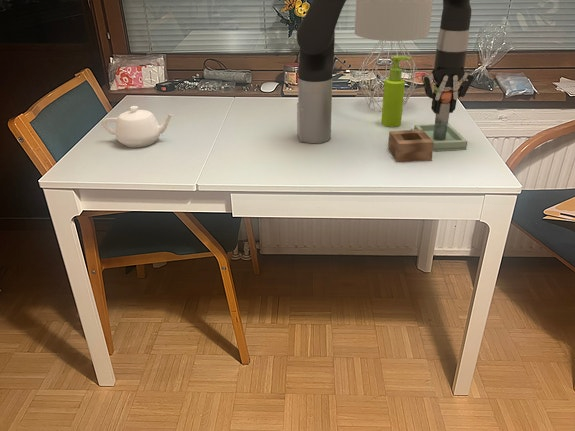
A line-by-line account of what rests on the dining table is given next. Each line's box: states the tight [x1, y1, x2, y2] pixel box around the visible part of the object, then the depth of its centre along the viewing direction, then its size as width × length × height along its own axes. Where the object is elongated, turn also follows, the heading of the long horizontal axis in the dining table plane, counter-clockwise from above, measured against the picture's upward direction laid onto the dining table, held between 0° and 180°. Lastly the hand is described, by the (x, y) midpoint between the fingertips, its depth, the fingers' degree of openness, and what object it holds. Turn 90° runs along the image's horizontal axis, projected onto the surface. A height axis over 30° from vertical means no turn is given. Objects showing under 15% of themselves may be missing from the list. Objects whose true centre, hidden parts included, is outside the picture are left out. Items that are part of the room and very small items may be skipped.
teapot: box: [101, 105, 174, 148], centre depth 149 cm, size 20×12×10 cm, turn 90°
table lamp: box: [354, 0, 434, 112], centre depth 165 cm, size 22×22×40 cm
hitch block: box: [387, 129, 434, 163], centre depth 139 cm, size 9×9×5 cm
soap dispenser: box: [380, 55, 412, 128], centre depth 156 cm, size 6×7×20 cm
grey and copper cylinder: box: [433, 88, 453, 139], centre depth 145 cm, size 4×4×13 cm
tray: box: [413, 122, 468, 153], centre depth 148 cm, size 10×14×2 cm
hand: (442, 112), depth 144 cm, fingers closed on grey and copper cylinder, 3 cm apart
